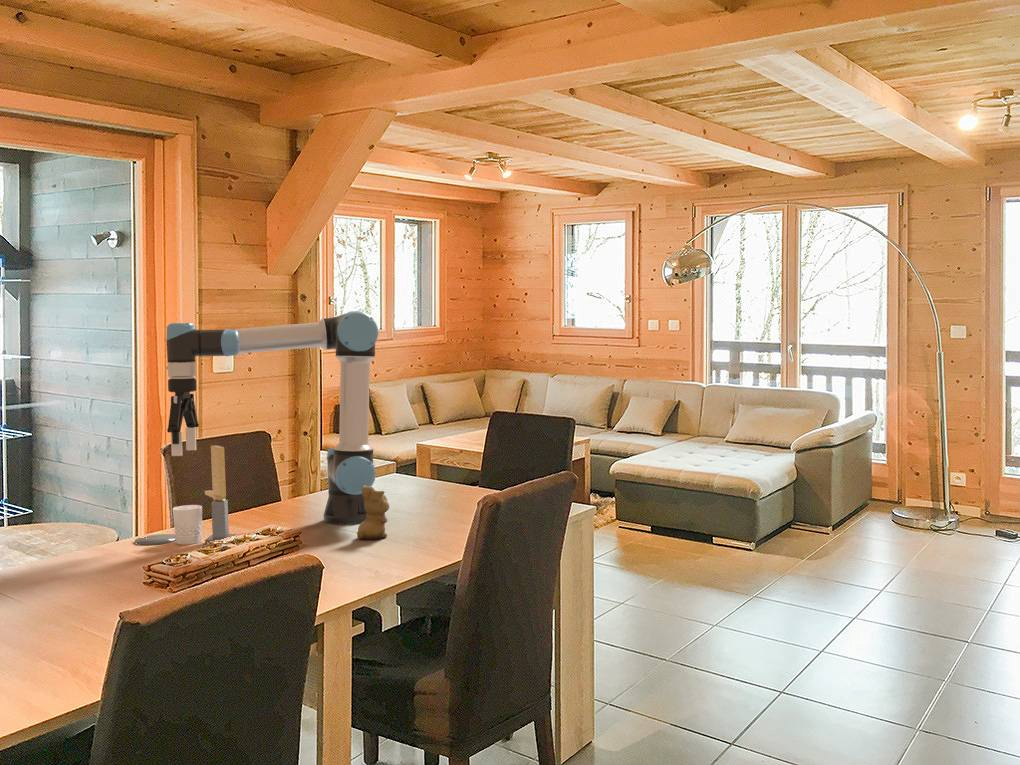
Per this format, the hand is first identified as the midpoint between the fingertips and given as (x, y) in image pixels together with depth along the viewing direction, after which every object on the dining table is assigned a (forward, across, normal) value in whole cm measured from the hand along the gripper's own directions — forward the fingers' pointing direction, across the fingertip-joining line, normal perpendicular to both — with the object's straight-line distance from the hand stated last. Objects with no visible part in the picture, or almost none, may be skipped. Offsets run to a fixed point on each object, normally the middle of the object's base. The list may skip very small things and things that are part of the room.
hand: (184, 453), depth 259 cm
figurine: (+25, +3, +53) cm, 59 cm away
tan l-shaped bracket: (+14, -4, +7) cm, 16 cm away
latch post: (+25, 0, +9) cm, 27 cm away
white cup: (+26, 0, 0) cm, 26 cm away
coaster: (+26, -4, -10) cm, 28 cm away
